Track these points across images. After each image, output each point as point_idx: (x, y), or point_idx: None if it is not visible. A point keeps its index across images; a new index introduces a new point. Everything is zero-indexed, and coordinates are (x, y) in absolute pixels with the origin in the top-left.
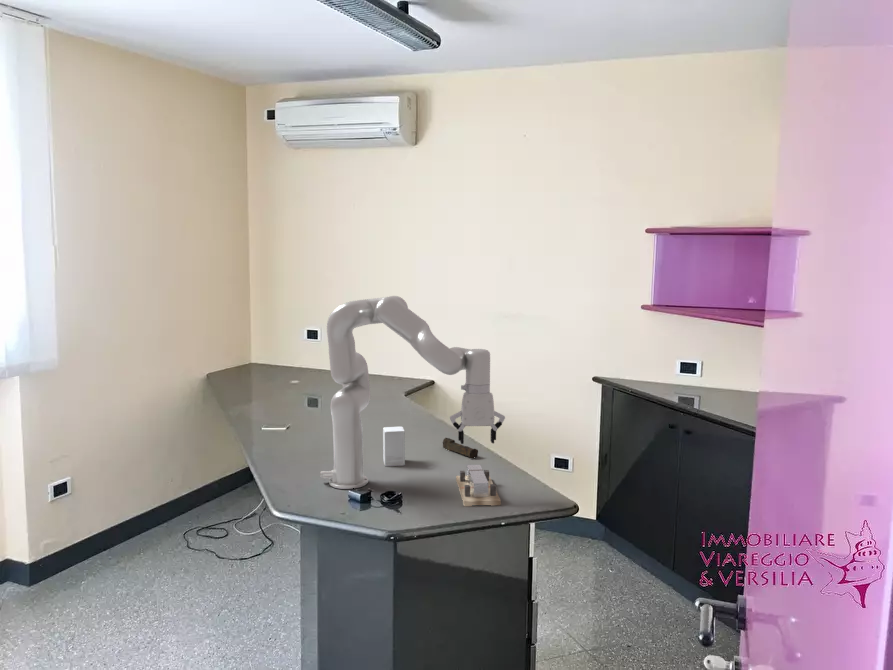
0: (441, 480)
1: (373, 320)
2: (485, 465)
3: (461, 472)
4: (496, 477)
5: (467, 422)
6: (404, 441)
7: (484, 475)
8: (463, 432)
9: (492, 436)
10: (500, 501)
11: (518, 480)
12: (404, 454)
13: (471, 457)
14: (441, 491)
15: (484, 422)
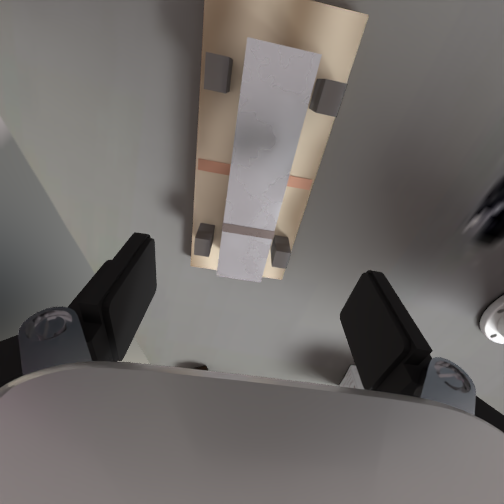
0: (317, 278)
1: None
2: (182, 334)
3: (287, 253)
4: (170, 266)
5: (489, 468)
6: None
7: (233, 161)
8: (406, 342)
9: (126, 268)
10: None
11: (109, 232)
12: (358, 388)
13: (203, 369)
14: (357, 204)
15: (167, 431)
